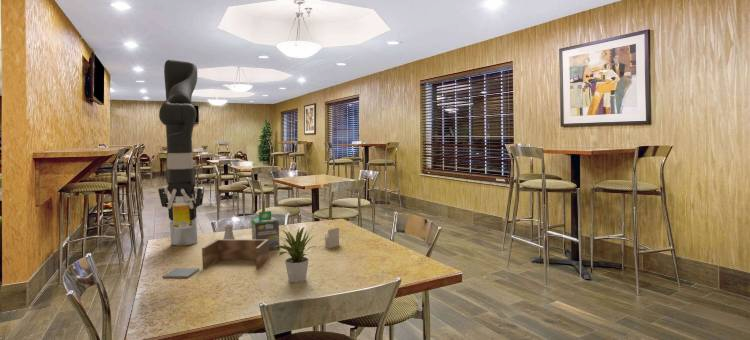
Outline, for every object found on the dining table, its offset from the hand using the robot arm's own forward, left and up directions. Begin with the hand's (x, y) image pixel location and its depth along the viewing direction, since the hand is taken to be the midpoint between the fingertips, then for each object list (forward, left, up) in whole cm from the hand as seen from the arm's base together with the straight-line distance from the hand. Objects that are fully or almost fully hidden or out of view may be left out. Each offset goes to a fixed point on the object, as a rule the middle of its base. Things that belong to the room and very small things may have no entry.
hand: (182, 219), depth 138 cm
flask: (+4, +27, -18) cm, 33 cm away
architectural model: (+43, +35, -18) cm, 58 cm away
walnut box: (+13, +11, -17) cm, 24 cm away
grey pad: (-1, 0, -17) cm, 18 cm away
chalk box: (+17, +31, -18) cm, 40 cm away
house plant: (+37, -5, -18) cm, 41 cm away
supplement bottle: (0, 0, -3) cm, 3 cm away
